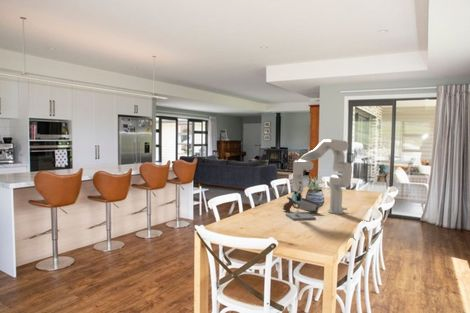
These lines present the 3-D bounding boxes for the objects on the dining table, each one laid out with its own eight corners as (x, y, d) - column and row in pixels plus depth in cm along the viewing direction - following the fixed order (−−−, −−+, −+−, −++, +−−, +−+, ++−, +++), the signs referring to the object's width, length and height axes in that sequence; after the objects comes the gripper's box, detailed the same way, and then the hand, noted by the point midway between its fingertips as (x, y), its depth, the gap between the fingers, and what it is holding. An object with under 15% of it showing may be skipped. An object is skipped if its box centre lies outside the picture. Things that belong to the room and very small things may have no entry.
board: (306, 214, 265) (306, 207, 265) (315, 219, 250) (315, 212, 249) (285, 215, 261) (285, 208, 261) (293, 220, 246) (293, 213, 245)
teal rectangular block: (298, 200, 257) (299, 193, 257) (301, 201, 252) (302, 194, 252) (292, 200, 256) (292, 193, 256) (295, 201, 251) (295, 195, 250)
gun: (314, 221, 270) (320, 204, 268) (282, 209, 274) (288, 192, 273) (314, 219, 274) (320, 202, 273) (282, 208, 279) (288, 191, 277)
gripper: (307, 178, 245) (306, 202, 246) (297, 175, 262) (297, 198, 263) (297, 178, 244) (296, 202, 245) (289, 175, 260) (288, 198, 261)
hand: (297, 199), depth 254 cm, fingers closed on teal rectangular block, 5 cm apart
